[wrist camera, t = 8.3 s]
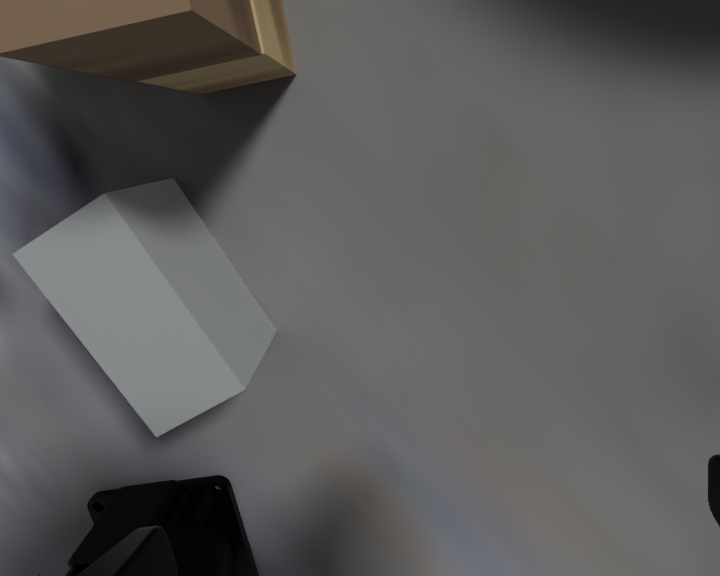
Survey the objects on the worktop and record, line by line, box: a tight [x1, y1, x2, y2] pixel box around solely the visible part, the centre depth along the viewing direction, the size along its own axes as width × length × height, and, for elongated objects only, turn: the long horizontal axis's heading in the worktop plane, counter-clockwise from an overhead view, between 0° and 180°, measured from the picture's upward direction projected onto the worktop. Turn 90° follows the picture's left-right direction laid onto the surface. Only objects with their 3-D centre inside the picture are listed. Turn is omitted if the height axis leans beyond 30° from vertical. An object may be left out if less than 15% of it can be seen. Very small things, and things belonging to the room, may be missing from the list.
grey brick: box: [13, 178, 276, 437], centre depth 18 cm, size 7×4×5 cm, turn 31°
